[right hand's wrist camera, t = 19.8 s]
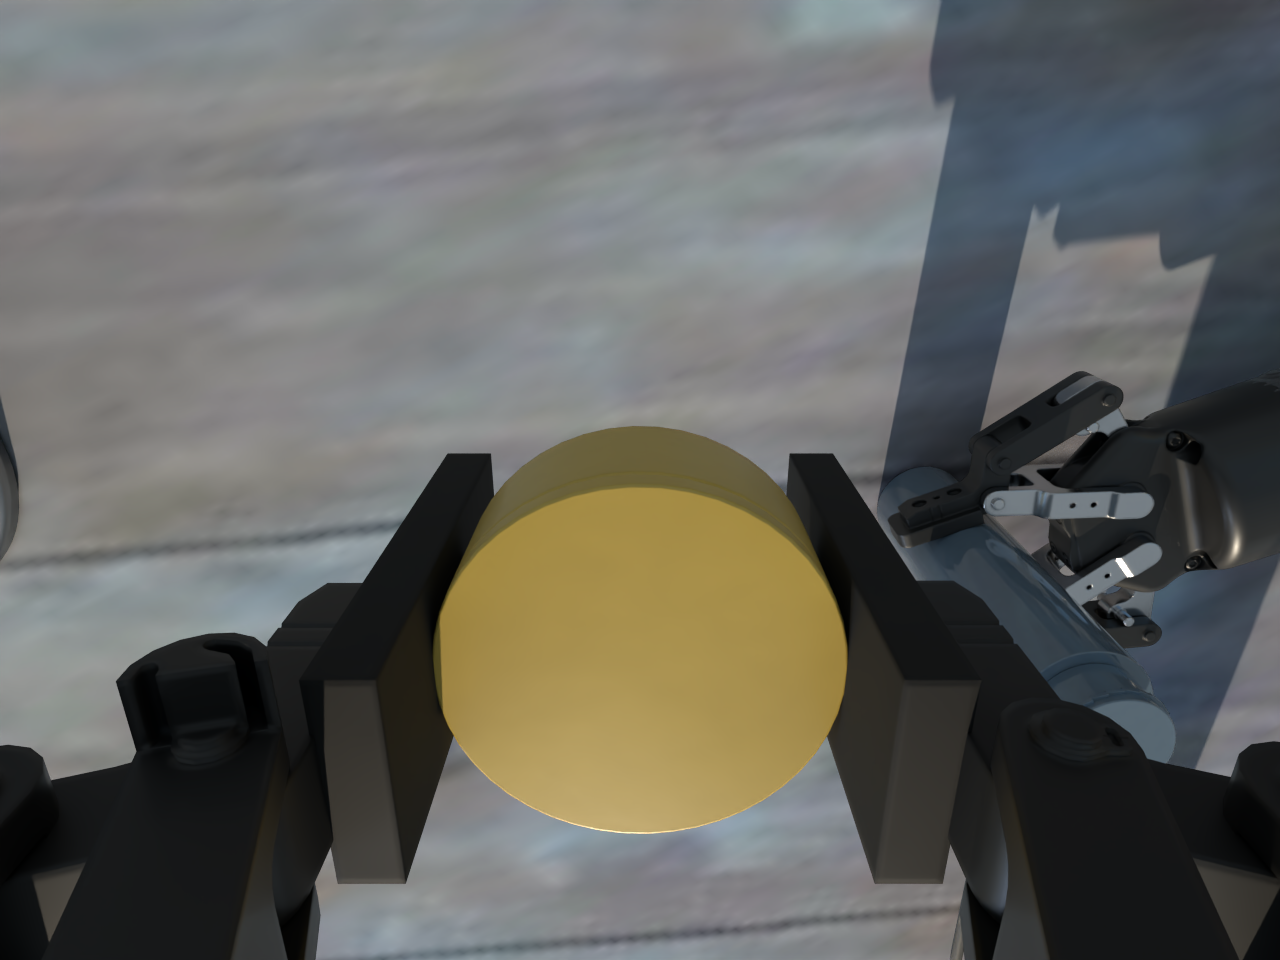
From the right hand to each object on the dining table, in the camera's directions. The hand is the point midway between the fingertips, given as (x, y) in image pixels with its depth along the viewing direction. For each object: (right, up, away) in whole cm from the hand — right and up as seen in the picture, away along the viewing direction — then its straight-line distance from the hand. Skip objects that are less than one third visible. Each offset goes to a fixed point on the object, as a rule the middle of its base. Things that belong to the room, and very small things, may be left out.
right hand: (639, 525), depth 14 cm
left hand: (+13, -4, +23) cm, 27 cm away
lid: (0, -2, -4) cm, 4 cm away
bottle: (+15, -1, +29) cm, 32 cm away
